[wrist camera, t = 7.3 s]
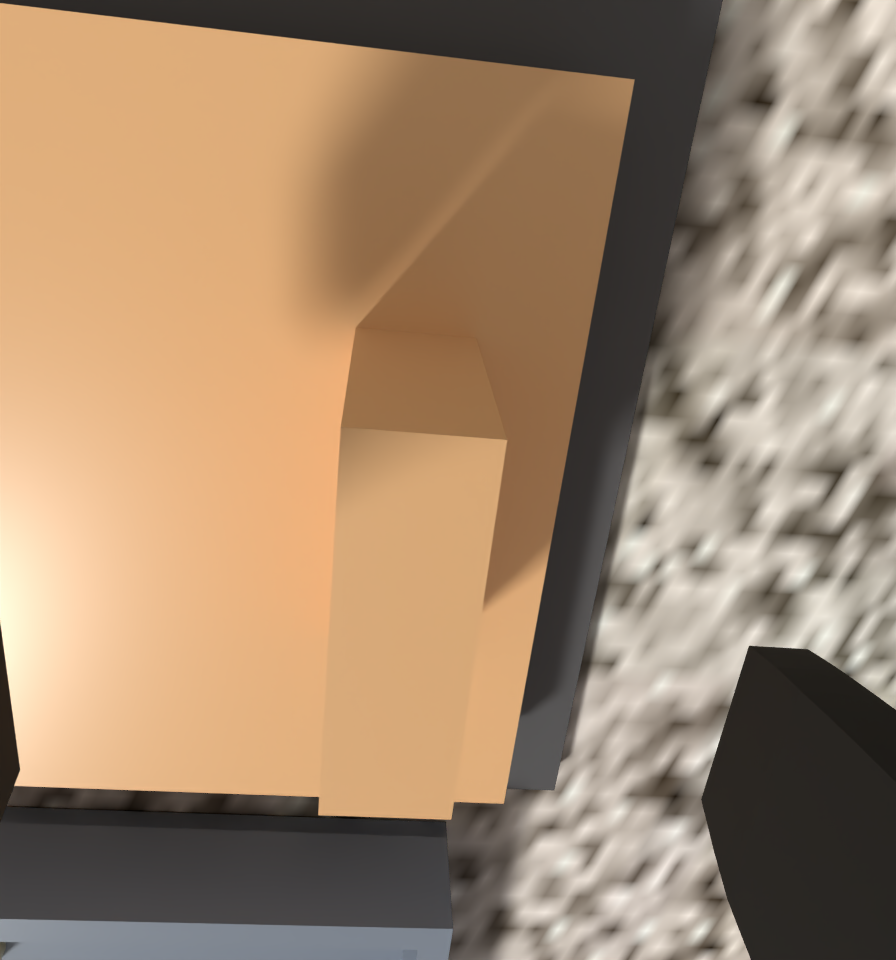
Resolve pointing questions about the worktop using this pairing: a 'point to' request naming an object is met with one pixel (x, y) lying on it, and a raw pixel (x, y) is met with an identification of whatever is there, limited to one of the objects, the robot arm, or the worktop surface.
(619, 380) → the mat
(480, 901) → the worktop surface
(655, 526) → the worktop surface
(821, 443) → the worktop surface
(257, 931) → the blue-grey tray
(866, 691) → the robot arm
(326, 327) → the lid
